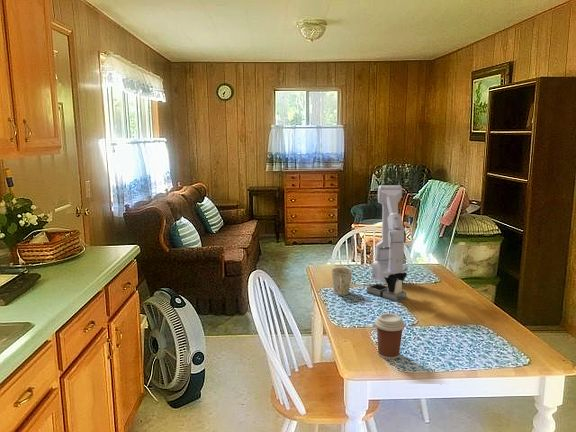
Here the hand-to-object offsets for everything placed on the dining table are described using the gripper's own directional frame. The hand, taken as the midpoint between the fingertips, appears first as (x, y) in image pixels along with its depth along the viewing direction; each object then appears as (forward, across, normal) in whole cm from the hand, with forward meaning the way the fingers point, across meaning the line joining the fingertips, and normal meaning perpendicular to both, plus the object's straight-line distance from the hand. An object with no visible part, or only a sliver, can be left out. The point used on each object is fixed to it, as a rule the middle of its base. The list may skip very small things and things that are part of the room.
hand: (394, 290), depth 197 cm
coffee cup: (+3, -43, -28) cm, 51 cm away
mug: (+3, -13, +17) cm, 22 cm away
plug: (+3, 0, 0) cm, 3 cm away
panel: (+3, 0, +4) cm, 5 cm away
